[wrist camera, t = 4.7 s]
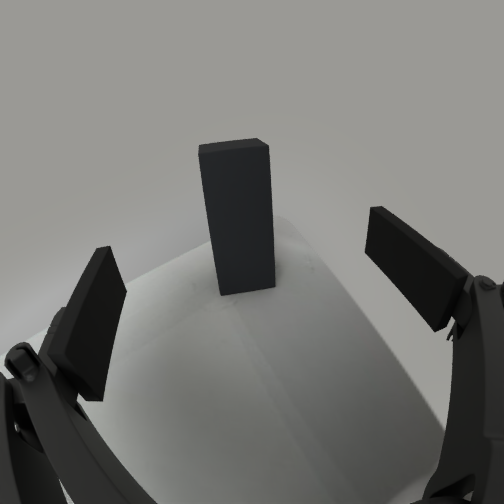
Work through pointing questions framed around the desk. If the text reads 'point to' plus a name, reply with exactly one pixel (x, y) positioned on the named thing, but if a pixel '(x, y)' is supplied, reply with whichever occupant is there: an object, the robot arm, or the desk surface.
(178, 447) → the desk surface
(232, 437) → the desk surface
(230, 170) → the black rectangular block
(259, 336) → the desk surface
